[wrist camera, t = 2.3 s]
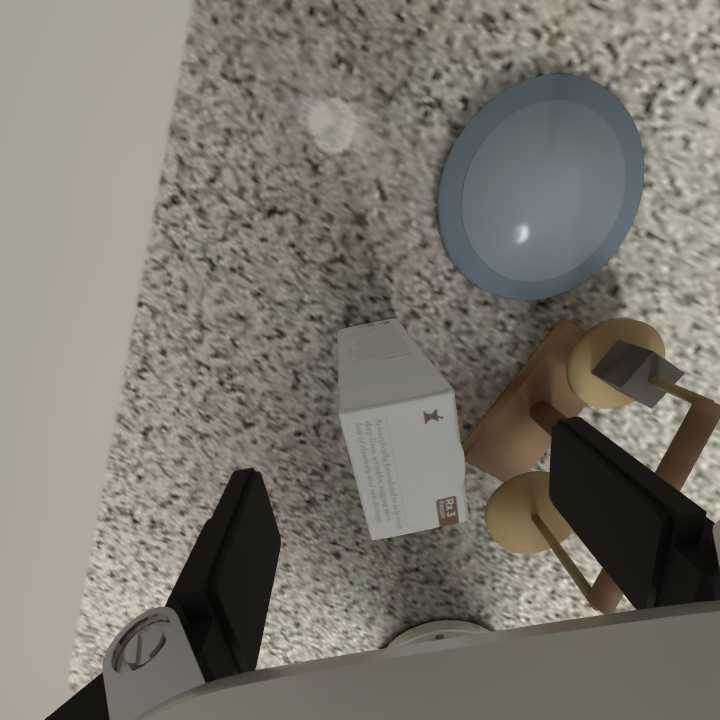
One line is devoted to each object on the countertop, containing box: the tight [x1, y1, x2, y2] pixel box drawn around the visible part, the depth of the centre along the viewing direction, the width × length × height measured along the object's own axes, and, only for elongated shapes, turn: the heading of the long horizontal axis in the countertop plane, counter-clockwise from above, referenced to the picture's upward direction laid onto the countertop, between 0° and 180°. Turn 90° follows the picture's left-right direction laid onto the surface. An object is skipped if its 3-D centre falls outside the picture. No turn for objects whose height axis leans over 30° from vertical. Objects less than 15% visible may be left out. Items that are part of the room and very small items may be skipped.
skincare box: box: [337, 318, 469, 540], centre depth 18 cm, size 6×4×12 cm
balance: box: [462, 318, 720, 615], centre depth 19 cm, size 16×6×12 cm, turn 149°
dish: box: [437, 74, 644, 300], centre depth 20 cm, size 12×12×1 cm
